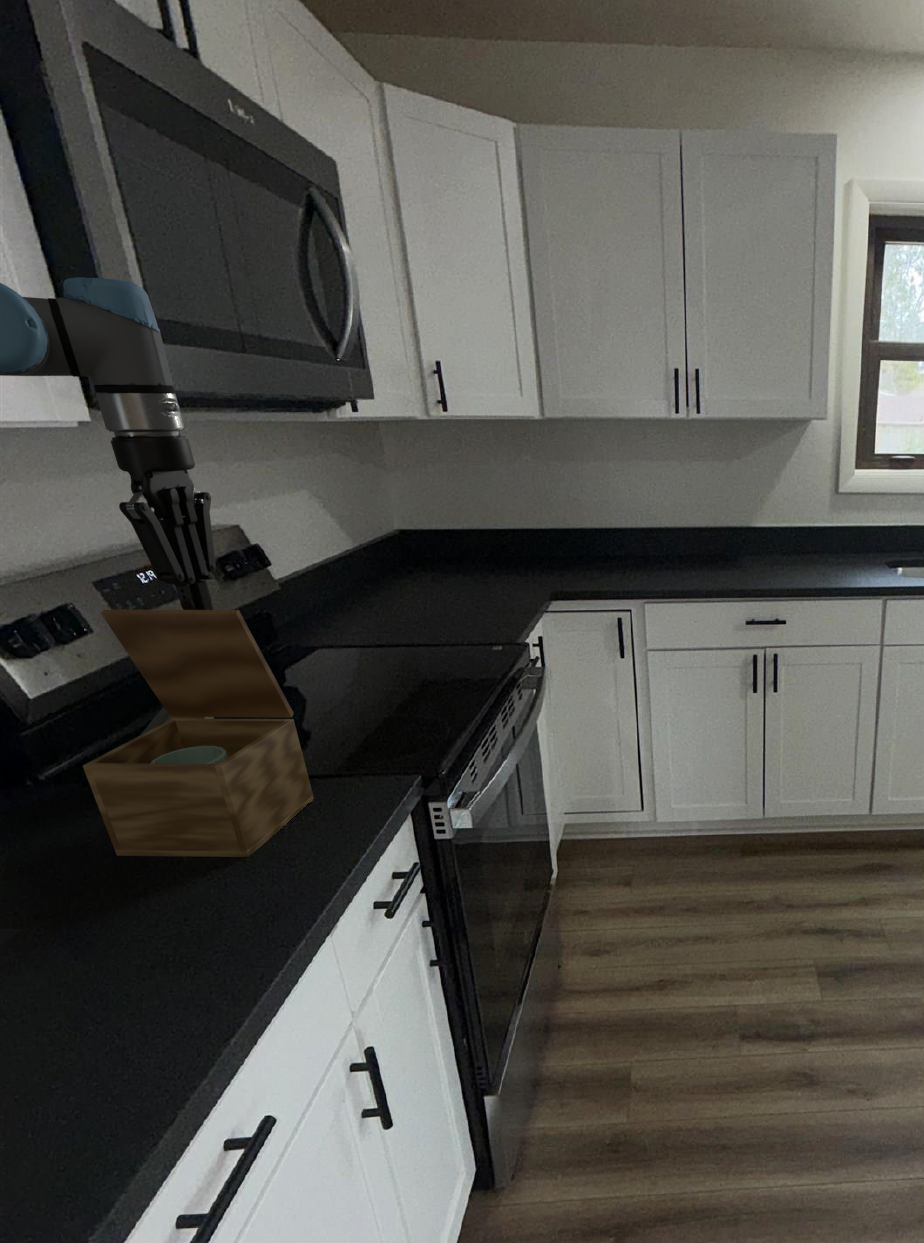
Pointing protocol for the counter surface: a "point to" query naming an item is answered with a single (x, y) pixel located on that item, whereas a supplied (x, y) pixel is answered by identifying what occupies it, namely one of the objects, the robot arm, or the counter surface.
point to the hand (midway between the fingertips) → (205, 632)
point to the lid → (200, 662)
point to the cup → (193, 756)
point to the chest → (201, 788)
